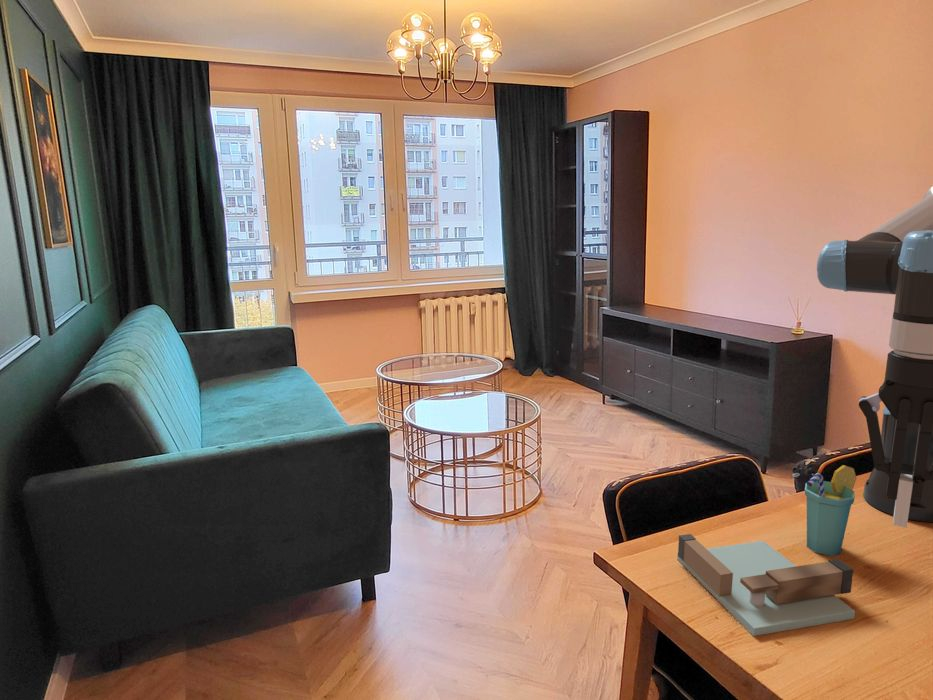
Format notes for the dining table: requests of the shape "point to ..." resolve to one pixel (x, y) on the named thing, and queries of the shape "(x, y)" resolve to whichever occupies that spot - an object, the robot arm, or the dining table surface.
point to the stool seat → (754, 609)
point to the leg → (802, 581)
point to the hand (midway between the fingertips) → (899, 522)
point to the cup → (829, 510)
